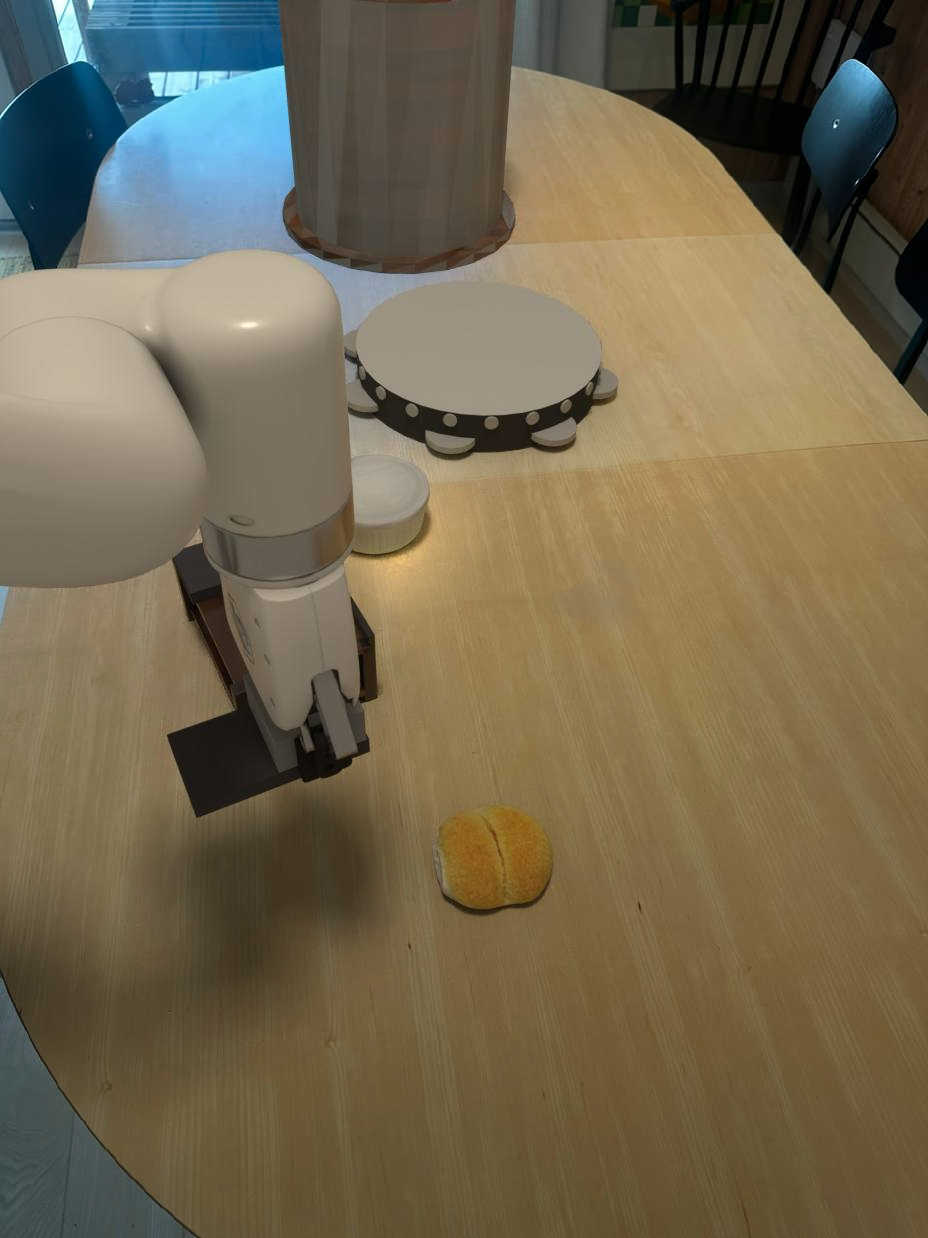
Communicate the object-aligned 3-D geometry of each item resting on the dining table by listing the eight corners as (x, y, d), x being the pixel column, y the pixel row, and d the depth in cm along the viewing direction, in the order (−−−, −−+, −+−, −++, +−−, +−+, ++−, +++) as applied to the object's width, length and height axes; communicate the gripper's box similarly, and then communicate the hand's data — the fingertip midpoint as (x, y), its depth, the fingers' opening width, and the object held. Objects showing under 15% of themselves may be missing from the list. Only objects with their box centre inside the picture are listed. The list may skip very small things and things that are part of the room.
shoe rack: (246, 748, 81) (232, 685, 74) (185, 613, 90) (168, 548, 84) (377, 697, 85) (375, 634, 78) (305, 573, 95) (298, 509, 88)
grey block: (192, 605, 82) (183, 567, 78) (173, 563, 85) (163, 525, 82) (315, 565, 85) (311, 528, 82) (292, 527, 89) (287, 489, 85)
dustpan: (196, 819, 57) (183, 777, 53) (170, 747, 60) (156, 703, 57) (370, 752, 60) (367, 709, 57) (336, 688, 63) (332, 644, 60)
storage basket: (521, 176, 158) (540, -60, 134) (507, 283, 134) (527, 19, 111) (309, 159, 159) (291, -78, 135) (258, 262, 136) (225, -4, 112)
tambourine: (620, 323, 128) (626, 288, 124) (610, 481, 106) (617, 444, 102) (367, 295, 130) (365, 260, 127) (304, 444, 108) (301, 406, 105)
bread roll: (564, 900, 72) (570, 874, 69) (447, 923, 71) (448, 898, 68) (534, 806, 78) (538, 778, 75) (424, 825, 76) (425, 798, 73)
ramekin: (358, 477, 105) (356, 438, 101) (449, 512, 101) (450, 473, 98) (298, 538, 98) (294, 498, 94) (393, 578, 95) (392, 538, 91)
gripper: (154, 435, 51) (208, 656, 64) (260, 661, 41) (299, 869, 54) (289, 401, 54) (315, 621, 67) (421, 607, 43) (420, 818, 57)
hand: (307, 730), depth 60 cm, fingers closed on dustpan, 5 cm apart
